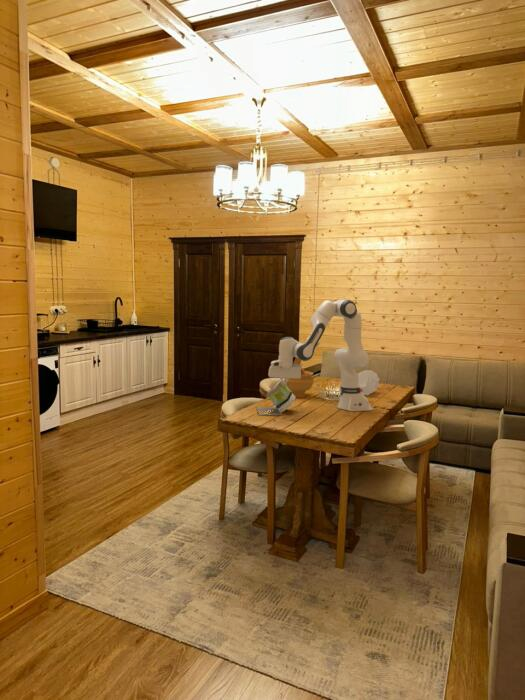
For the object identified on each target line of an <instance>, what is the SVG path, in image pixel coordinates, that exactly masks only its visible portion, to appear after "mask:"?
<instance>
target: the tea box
mask: <svg viewBox="0 0 525 700" xmlns="http://www.w3.org/2000/svg"><path fill="white" fill-rule="evenodd" d="M266 396H267V398H268V399H269V400H270V402H271V403H272V404H273V405H274V407H276V408H277V409H278V410H279V412H280V413H282V414H283V412H285V411H286V410H287V409H288V408H289V407H291V406H292V405H293V403H294V401H295V400H296V398H297V397H295V396H294V394H293V393H292V391H291V390H290V389H289V388H288V387H287V386H286V385H282V382H281V380H279V381H278V382H277V383H276V384H274V385H273V386H272V387H271V388H270V389H269V390H268V391H267V393H266Z"/></svg>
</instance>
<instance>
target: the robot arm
mask: <svg viewBox="0 0 525 700" xmlns="http://www.w3.org/2000/svg"><path fill="white" fill-rule="evenodd" d="M333 317H339V318H343V319H344V327H343V340H344V342H345V343H346V344H347V347H348V348H347V347H340V348H338V349H336V350H335V352H334V360H335V362H336V363H337V365H338V367H339V370H340V376H341V377H340V378H341V379H340V382H341V383H340V386H339V399H338V404H337V408H338V409H340V410H344V411H345V410H346V411H349V412H363V411H364V412H365V411H367V412H368V411H373V406H371V405H370V403H369V402H370V401H369V398H367V397H366V395H363V394H361V393H360V392H363V389H362V388H359V387H358V379H359V376H358V372H356V371H357V370H355V368H363V367H366V366H367V365H368V363H369V354H368V353H367V352H366V350H365V349H364V346H363V344H362V343H363V342H362V324H363V323H362V315H361V312H359V311H358V309H357V305H356V303H355V302H354V301H352V300H350V299H344V298H343V299H335V300H333V301H331V300H328V299H326V300H324V301H322V303H321V304H320V305H319V306H318V307H317V308H316V310H315V311H314V313H313V314H312V316H311V318H310V325H311V327H312V331H311V334H309V337H308V338H307V340H306V342H304V343H303V342H300V341H298V340H297V339H294V337H292V336H284V337H282V338H281V339H280V340H279V344H278V359H275V360H272V361H271V362H270V366H269V368H268V373H267V374H268V377H269V378H275V379H280V380H279V381H281V382H282V385H287V382H288V380H289V378H295V379H300V378H301V369H302V368H303V367H302V366H303V365H301V363H300V364H295V363H294V361H293V359H294V358H299V359H301V361H303V362H307V361H309V360H311V359H312V358H313V356H314V353H315V349H316V347H317V345H318V343H319V341H320V340H321V338H322V336H323V335H324V333H325V330H326V329H327V326H328V325H329V324H330V322H331V320H332V318H333ZM285 378H286V382H285V381H283V380H284V379H285Z"/></svg>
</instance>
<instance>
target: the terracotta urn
mask: <svg viewBox="0 0 525 700" xmlns="http://www.w3.org/2000/svg"><path fill="white" fill-rule="evenodd" d="M294 358H295V359H294V361H293V363H295V364H300V365H301V363H302V360H301V359H299V358H296V357H294ZM313 375H314V372H311V371H307V370H305V369H304V368H303V367H302V369H301V378H300V379H295V378H289V380H288V382H287V385H286V386H287V387H288V388H289V389H290V391H291V392H292V393H293V394H294V396H295V397H296V398H306V392H308V391H309V390H311V388H312V387H313V384H314V380H315V379H314V378H313ZM283 380H284V382H286V378H283Z"/></svg>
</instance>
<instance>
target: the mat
mask: <svg viewBox="0 0 525 700" xmlns="http://www.w3.org/2000/svg"><path fill="white" fill-rule="evenodd" d="M257 407H258V406H255V408H257ZM262 407H263V408H260V409H259V408H257V409H256V412H257V411H258V412H259V411H261V412H262V411H263V412H262V413H264V412H265V410H266V412H267V411H268V409H269V410H271V412H270V411H269V412H270V413H269V412H268V414H262V413H261V412H260V413H261V414H259V415H269V414H270V415H283V414H284V413H283V412H282V413H280V412H279V410H278V409H277V408H276V406H269V407H268V406H267V407H266V406H262ZM272 410H273V411H272ZM266 412H265V413H266ZM283 416H284V415H283Z"/></svg>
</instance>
